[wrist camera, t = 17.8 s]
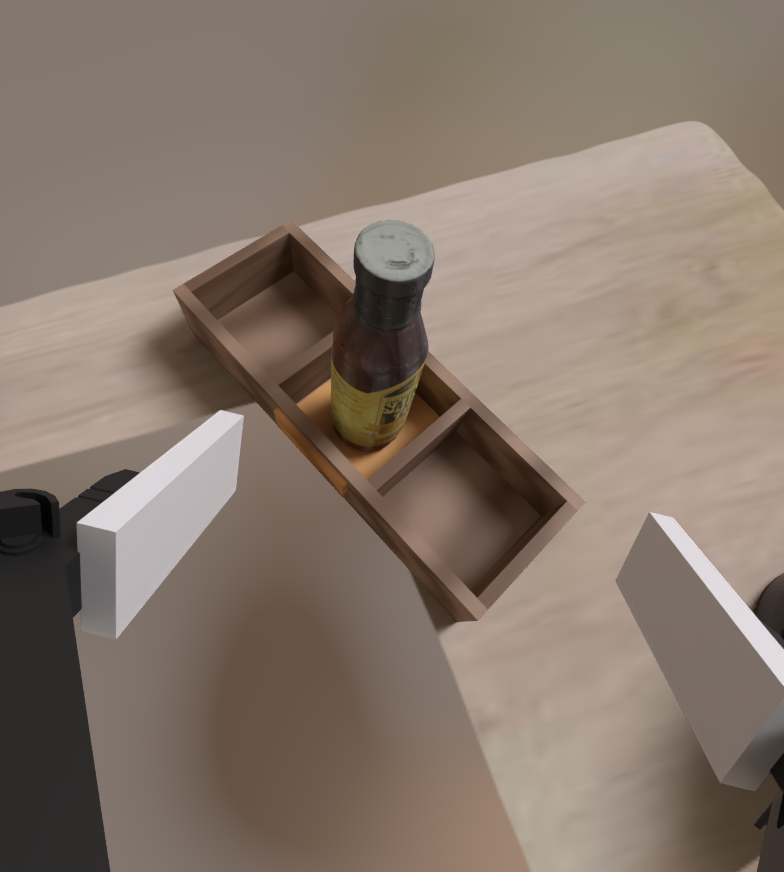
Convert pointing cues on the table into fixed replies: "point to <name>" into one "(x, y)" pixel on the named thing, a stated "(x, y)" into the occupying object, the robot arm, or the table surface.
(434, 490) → the wooden compartment tray
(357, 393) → the sauce bottle
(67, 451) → the table surface
